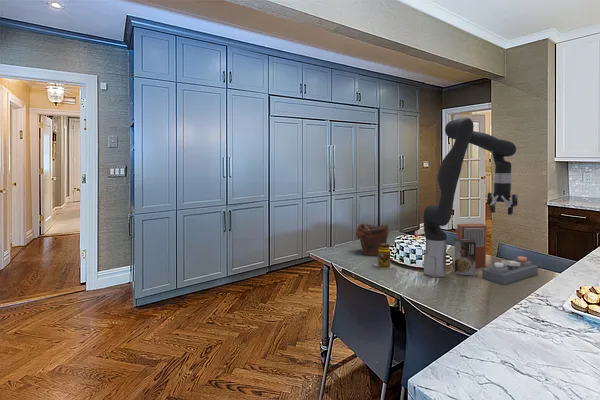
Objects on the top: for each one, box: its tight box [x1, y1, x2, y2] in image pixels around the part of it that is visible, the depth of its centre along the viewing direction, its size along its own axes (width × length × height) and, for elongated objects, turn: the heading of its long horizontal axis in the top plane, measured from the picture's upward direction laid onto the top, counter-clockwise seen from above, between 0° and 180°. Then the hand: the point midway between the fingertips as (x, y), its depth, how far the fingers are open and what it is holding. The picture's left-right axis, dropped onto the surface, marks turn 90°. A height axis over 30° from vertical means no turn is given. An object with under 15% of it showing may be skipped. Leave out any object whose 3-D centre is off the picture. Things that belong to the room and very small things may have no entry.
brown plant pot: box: [355, 223, 390, 256], centre depth 202 cm, size 18×20×18 cm
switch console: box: [481, 258, 539, 285], centre depth 155 cm, size 26×10×6 cm, turn 118°
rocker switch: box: [500, 260, 520, 266], centre depth 155 cm, size 8×4×2 cm, turn 118°
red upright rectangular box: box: [454, 223, 488, 268], centre depth 172 cm, size 21×7×15 cm
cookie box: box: [454, 238, 477, 276], centre depth 161 cm, size 9×6×16 cm
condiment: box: [373, 242, 394, 270], centre depth 176 cm, size 7×8×12 cm
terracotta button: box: [517, 255, 528, 263], centre depth 159 cm, size 4×4×2 cm
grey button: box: [493, 261, 504, 269], centre depth 151 cm, size 4×4×2 cm
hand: (501, 213), depth 173 cm, fingers open, 8 cm apart
